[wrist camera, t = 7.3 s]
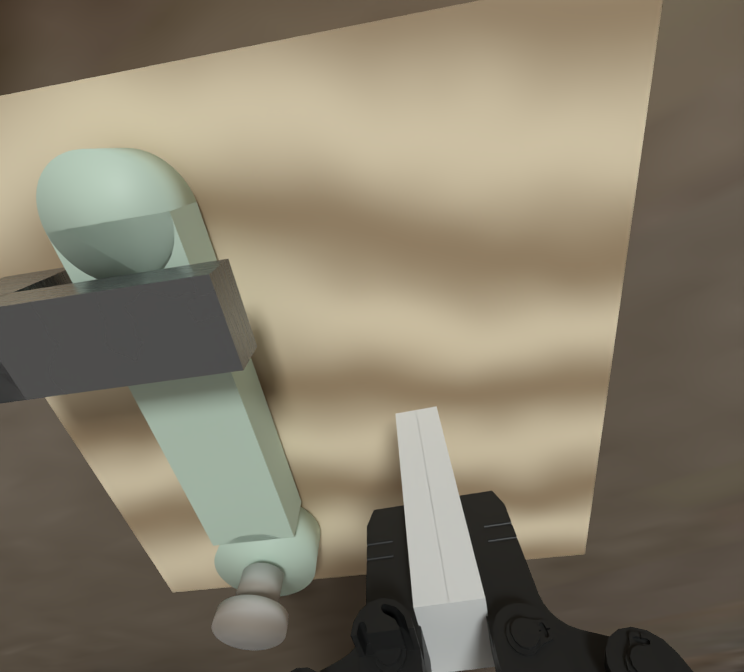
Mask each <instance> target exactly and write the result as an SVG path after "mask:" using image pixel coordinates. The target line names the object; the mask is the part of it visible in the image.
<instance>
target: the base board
mask: <svg viewBox="0 0 744 672" xmlns="http://www.w3.org/2000/svg"><path fill="white" fill-rule="evenodd" d="M662 2H663V0H480V1H475V2H470V3H465V4H460V5H454V6H449V7H444V8H439V9H434V10H429V11H424V12H419V13H414V14H409V15H404V16H399V17H394V18H389V19H384V20H379V21H374V22H369V23H364V24H359V25H354V26H349V27H344V28H339V29H334V30H329V31H324V32H319V33H314V34H309V35H304V36H299V37H294V38H289V39H284V40H279V41H274V42H269V43H264V44H259V45H254V46H249V47H244V48H239V49H234V50H229V51H224V52H219V53H214V54H209V55H203V56H198V57H193V58H188V59H183V60H178V61H173V62H168V63H163V64H158V65H153V66H148V67H143V68H138V69H133V70H128V71H123V72H118V73H113V74H108V75H103V76H98V77H93V78H88V79H83V80H78V81H73V82H68V83H63V84H58V85H53V86H48V87H43V88H38V89H33V90H28V91H23V92H18V93H13V94H8V95H3V96H0V278H3V277H7V276H13V275H19V274H25V273H32V272H38V271H44V270H50V269H56V268H62V267H64V266H63V264H62V262H61V260H60V258H59V257H58V255H57V253H56V251H55V249H54V247H53V245H52V243H51V242H50V240H49V238H48V236H47V234H46V232H45V230H44V228H43V226H42V223H41V220H40V218H39V214H38V210H37V203H36V191H37V185H38V180H39V178H40V176H41V173H42V172H43V170H44V168H45V167H46V166H47V165H48V163H49V162H50V161H51V160H53V159H54V158H55V157H57V156H58V155H60V154H63V153H65V152H68V151H71V150H77V149H97V148H135V149H140V150H143V151H146V152H149V153H151V154H154V155H156V156H158V157H159V158H161V159H163V160H164V161H166V162H167V163H168V164H170V165H171V166H172V167H173V168H174V169H175V170H176V171H177V172H178V173H179V174H180V175H181V176H182V177H183V178H184V180H185V181H186V182H187V184H188V185H189V187H190V189H191V191H192V192H193V194H194V197H195V199H196V202H197V204H198V207H199V210H200V213H201V216H202V219H203V222H204V224H205V227H206V230H207V233H208V236H209V239H210V242H211V244H212V247H213V250H214V253H215V256H216V259H217V260H223V259H229V262H230V265H231V268H232V272H233V275H234V278H235V281H236V284H237V287H238V290H239V293H240V296H241V299H242V302H243V305H244V308H245V311H246V314H247V317H248V320H249V323H250V326H251V329H252V332H253V335H254V338H255V341H256V344H257V348H256V349H255V351H254V353H253V355H252V357H251V359H252V362H253V365H254V368H255V370H256V373H257V376H258V379H259V382H260V385H261V388H262V391H263V393H264V396H265V399H266V402H267V405H268V408H269V411H270V413H271V416H272V419H273V422H274V425H275V428H276V431H277V434H278V436H279V439H280V442H281V445H282V448H283V451H284V454H285V456H286V459H287V462H288V465H289V468H290V471H291V474H292V476H293V479H294V482H295V485H296V488H297V491H298V494H299V497H300V499H301V506H300V507H302V508H304V509H305V510H307V511H308V512H309V513H310V514H311V515H312V516H313V517H314V518H315V519H316V521H317V522H318V525H319V527H320V541H319V549H318V556H317V563H316V571H315V576H314V578H313V579H322V578H333V577H343V576H354V575H365V574H366V571H367V525H368V522H369V520H370V518H371V515H372V513H373V511H374V510H376V509H383V508H389V507H396V506H402V505H404V501H403V490H402V479H401V469H400V458H399V447H398V436H397V426H396V415H395V414H396V413H402V412H408V411H413V410H419V409H425V408H430V407H436V406H437V410H438V414H439V418H440V422H441V426H442V430H443V434H444V438H445V442H446V446H447V450H448V453H449V457H450V461H451V465H452V469H453V473H454V477H455V481H456V485H457V489H458V493H459V496H460V495H466V494H473V493H479V492H486V491H493V492H494V493H495V494H496V495H497V497H498V498H499V499H500V500H501V501H502V502H503V503H504V504H505V506H506V509H507V512H508V514H509V517H510V520H511V523H512V525H513V528H514V530H515V533H516V536H517V539H518V541H519V544H520V546H521V549H522V552H523V554H524V557H525V560H526V559H537V558H548V557H559V556H569V555H580V554H585V548H586V541H587V534H588V527H589V520H590V513H591V506H592V499H593V491H594V484H595V477H596V470H597V463H598V456H599V449H600V442H601V435H602V428H603V421H604V413H605V406H606V399H607V392H608V385H609V378H610V371H611V364H612V357H613V350H614V343H615V335H616V328H617V321H618V314H619V307H620V300H621V293H622V286H623V279H624V272H625V265H626V258H627V250H628V243H629V236H630V229H631V222H632V215H633V208H634V201H635V194H636V187H637V180H638V172H639V165H640V158H641V151H642V144H643V137H644V130H645V123H646V116H647V109H648V102H649V95H650V87H651V80H652V73H653V66H654V59H655V52H656V45H657V38H658V31H659V24H660V17H661V9H662ZM45 398H46V400H47V401H48V403H49V404H50V406H51V407H52V409H53V410H54V412H55V413H56V415H57V416H58V418H59V419H60V421H61V423H62V424H63V426H64V427H65V429H66V430H67V432H68V433H69V435H70V436H71V438H72V439H73V441H74V442H75V444H76V445H77V447H78V448H79V450H80V452H81V453H82V455H83V456H84V458H85V459H86V461H87V462H88V464H89V465H90V467H91V468H92V470H93V471H94V473H95V474H96V476H97V477H98V479H99V481H100V482H101V484H102V485H103V487H104V488H105V490H106V491H107V493H108V494H109V496H110V497H111V499H112V500H113V502H114V503H115V505H116V506H117V508H118V510H119V511H120V513H121V514H122V516H123V517H124V519H125V520H126V522H127V523H128V525H129V526H130V528H131V529H132V531H133V532H134V534H135V535H136V537H137V539H138V540H139V542H140V543H141V545H142V546H143V548H144V549H145V551H146V552H147V554H148V555H149V557H150V558H151V560H152V561H153V563H154V564H155V566H156V568H157V569H158V571H159V572H160V574H161V575H162V577H163V578H164V580H165V581H166V583H167V584H168V586H169V587H170V589H171V590H172V592H182V591H193V590H203V589H214V588H225V587H232V586H231V585H229V584H228V583H226V582H225V581H224V580H223V579H222V578H221V577H220V575H219V574H218V572H217V570H216V568H215V563H214V559H215V555H216V552H217V550H218V547H219V545H215V546H213V544H212V543H211V541H210V539H209V537H208V535H207V533H206V531H205V529H204V528H203V526H202V524H201V522H200V520H199V518H198V516H197V515H196V513H195V511H194V509H193V507H192V505H191V503H190V501H189V500H188V498H187V496H186V494H185V492H184V490H183V488H182V486H181V485H180V483H179V481H178V479H177V477H176V475H175V473H174V472H173V470H172V468H171V466H170V464H169V462H168V460H167V458H166V457H165V455H164V453H163V451H162V449H161V447H160V445H159V443H158V442H157V440H156V438H155V436H154V434H153V432H152V430H151V429H150V427H149V425H148V423H147V421H146V419H145V417H144V415H143V414H142V412H141V410H140V408H139V406H138V404H137V402H136V400H135V399H134V397H133V395H132V393H131V391H130V389H129V387H128V386H125V387H117V388H110V389H102V390H95V391H88V392H80V393H73V394H66V395H58V396H51V397H45ZM283 579H284V575H283V572H282V571H281V570H280V569H279V568H278V567H276V566H274V565H272V564H268V563H253V564H250V565H248V566H247V567H245V568H244V570H243V573H242V576H241V579H240V583H239V586H238V589H237V593H236V596H233V597H230V598H228V599H226V600H224V601H223V602H221V603H220V605H219V606H218V608H217V611H216V614H215V617H214V620H213V623H212V631H213V633H214V635H215V636H216V637H217V638H218V639H219V640H220V641H222V642H223V643H225V644H227V645H229V646H232V647H235V648H239V649H244V650H265V649H269V648H272V647H275V646H277V645H279V644H280V643H281V642H282V641H283V640H284V639H285V637H286V632H287V626H288V621H289V615H288V612H287V611H286V609H285V608H284V607H283V606H282V605H281V604H279V598H280V593H281V589H282V584H283Z"/></svg>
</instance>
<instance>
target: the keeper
mask: <svg viewBox="0 0 744 672" xmlns="http://www.w3.org/2000/svg"><path fill="white" fill-rule="evenodd" d="M256 348H257V344H256V341H255V338H254V335H253V332H252V329H251V326H250V323H249V320H248V317H247V314H246V311H245V308H244V305H243V302H242V299H241V296H240V293H239V290H238V287H237V284H236V281H235V278H234V275H233V272H232V268H231V265H230V262H229V259H223V260H216V261H210V262H204V263H197V264H191V265H185V266H178V267H172V268H166V269H159V270H153V271H147V272H140V273H134V274H128V275H121V276H115V277H109V278H102V279H96V280H90V281H83V282H77V283H72V281H71V279H70V277H69V275H68V273H67V271H66V270H65V268H64V267H62V268H56V269H50V270H44V271H38V272H32V273H25V274H19V275H13V276H7V277H3V278H0V403H6V402H14V401H21V400H29V399H36V398H43V397H51V396H58V395H66V394H73V393H80V392H88V391H95V390H102V389H110V388H117V387H125V386H132V385H139V384H147V383H154V382H162V381H169V380H176V379H184V378H191V377H198V376H206V375H213V374H221V373H228V372H235V371H243V370H244V369H245V367H246V365H247V364H248V362H249V360H250V358H251V357H252V355H253V353H254V351H255V349H256Z"/></svg>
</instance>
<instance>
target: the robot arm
mask: <svg viewBox="0 0 744 672" xmlns="http://www.w3.org/2000/svg"><path fill="white" fill-rule="evenodd" d="M395 415H396V426H397V436H398V447H399V458H400V469H401V479H402V490H403V501H404V505H402V506H396V507H389V508H383V509H376V510H374V511H373V513H372V515H371V518H370V520H369V522H368V525H367V571H366V606H365V607H364V608H362V609H361V610H360V612H359V613H358V615H357V617H356V619H355V620H354V622H353V627H352V632H351V638H352V640H353V642H354V645H355V648H354V649H353V650H352V651H351V652H350V654H348V655H347V656H345V657H344V658H343V659H341V660H340V661H338V662H336V663H334V664H332V665H331V666H329V667H327V668H325V669H323V670H322V671H320V672H453V671H462V670H471V669H479V668H488V667H495V669H496V672H693V671H692V670H691V668H690V667H689V666H688V665H687V664H686V663H685V661H684V660H683V659H682V658H681V657H680V655H679V654H678V653H677V652H676V651H675V650H674V649H673V648H672V647H670V646H669V645H668V644H667V643H666V642H665V641H664V640H663V639H661V638H659V637H658V636H656V635H654V634H652V633H650V632H649V631H647V630H643V629H638V628H634V627H628V628H622V629H618V630H617V631H616V632H614V633H613V634H612V635H611V636H610V637H609V636H605V635H601V634H597V633H592V632H588V631H584V630H580V629H577V628H574V627H571V626H569V625H567V624H565V623H564V622H562V621H560V620H559V619H558V618H556V617H555V616H554V615H553V614H552V613H551V612H550V611H549V610H548V609H547V607H546V606H545V605H544V604H543V602H542V600H541V598H540V596H539V594H538V591H537V589H536V586H535V583H534V581H533V578H532V576H531V573H530V570H529V568H528V565H527V562H526V560H525V557H524V554H523V552H522V549H521V546H520V544H519V541H518V539H517V536H516V533H515V530H514V528H513V525H512V523H511V520H510V517H509V514H508V512H507V509H506V506H505V504H504V503H503V502H502V501H501V500H500V499H499V498H498V497H497V495H496V494H495V493H494V492H493V491H486V492H479V493H473V494H466V495H460V496H459V493H458V489H457V485H456V481H455V477H454V473H453V469H452V465H451V461H450V457H449V453H448V450H447V446H446V442H445V438H444V434H443V430H442V426H441V422H440V418H439V414H438V410H437V406H436V407H430V408H425V409H419V410H413V411H408V412H402V413H396V414H395ZM291 672H316V671H314V670H312V669H310V668H296V669H294V670H293V671H291Z"/></svg>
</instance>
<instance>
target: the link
mask: <svg viewBox="0 0 744 672" xmlns="http://www.w3.org/2000/svg"><path fill="white" fill-rule="evenodd" d="M36 203H37V210H38V214H39V218H40V220H41V223H42V226H43V228H44V230H45V232H46V234H47V236H48V238H49V240H50V242H51V243H52V245H53V247H54V249H55V251H56V253H57V255H58V257H59V258H60V260H61V262H62V264H63V266H64V268H65V270H66V271H67V273H68V275H69V277H70V279H71V281H72V283H77V282H83V281H90V280H96V279H102V278H109V277H115V276H121V275H128V274H134V273H140V272H147V271H153V270H159V269H166V268H172V267H178V266H185V265H191V264H197V263H204V262H210V261H216V260H217V259H216V256H215V253H214V250H213V247H212V244H211V242H210V239H209V236H208V233H207V230H206V227H205V224H204V222H203V219H202V216H201V213H200V210H199V207H198V204H197V202H196V199H195V197H194V194H193V192H192V191H191V189H190V187H189V185H188V184H187V182H186V181H185V180H184V178H183V177H182V176H181V175H180V174H179V173H178V172H177V171H176V170H175V169H174V168H173V167H172V166H171V165H170V164H168V163H167V162H166V161H164V160H163V159H161V158H159V157H158V156H156V155H154V154H151V153H149V152H146V151H143V150H140V149H135V148H97V149H77V150H71V151H68V152H65V153H63V154H60V155H58V156H57V157H55V158H54V159H53V160H51V161H50V162H49V163H48V165H47V166H46V167H45V168H44V170H43V172H42V173H41V176H40V178H39V180H38V185H37V191H36ZM128 387H129V389H130V391H131V393H132V395H133V397H134V399H135V400H136V402H137V404H138V406H139V408H140V410H141V412H142V414H143V415H144V417H145V419H146V421H147V423H148V425H149V427H150V429H151V430H152V432H153V434H154V436H155V438H156V440H157V442H158V443H159V445H160V447H161V449H162V451H163V453H164V455H165V457H166V458H167V460H168V462H169V464H170V466H171V468H172V470H173V472H174V473H175V475H176V477H177V479H178V481H179V483H180V485H181V486H182V488H183V490H184V492H185V494H186V496H187V498H188V500H189V501H190V503H191V505H192V507H193V509H194V511H195V513H196V515H197V516H198V518H199V520H200V522H201V524H202V526H203V528H204V529H205V531H206V533H207V535H208V537H209V539H210V541H211V543H212V544H213V546H215V545H219V547H218V550H217V552H216V555H215V559H214V563H215V568H216V570H217V572H218V574H219V575H220V577H221V578H222V579H223V580H224V581H225V582H226V583H228V584H229V585H231V586H232V587H234V588H236V589H238V586H239V583H240V579H241V576H242V573H243V570H244V568H245V567H247V566H248V565H250V564H253V563H268V564H272V565H274V566H276V567H278V568H279V569H280V570H281V571H282V572H283V575H284V579H283V584H282V589H281V593H280V596H286V595H290V594H293V593H296V592H298V591H300V590H302V589H304V588H305V587H307V586H308V585H309V584H310V583H311V581H312V580H313V578H314V576H315V571H316V563H317V556H318V549H319V541H320V527H319V525H318V522H317V521H316V519H315V518H314V517H313V516H312V515H311V514H310V513H309V512H308V511H307V510H305V509H304V508H302V507H300V506H301V499H300V497H299V494H298V491H297V488H296V485H295V482H294V479H293V476H292V474H291V471H290V468H289V465H288V462H287V459H286V456H285V454H284V451H283V448H282V445H281V442H280V439H279V436H278V434H277V431H276V428H275V425H274V422H273V419H272V416H271V413H270V411H269V408H268V405H267V402H266V399H265V396H264V393H263V391H262V388H261V385H260V382H259V379H258V376H257V373H256V370H255V368H254V365H253V362H252V359H251V358H250V360H249V362H248V364H247V365H246V367H245V369H244V370H243V371H235V372H228V373H221V374H213V375H206V376H198V377H191V378H184V379H176V380H169V381H162V382H154V383H147V384H139V385H132V386H128Z"/></svg>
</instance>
